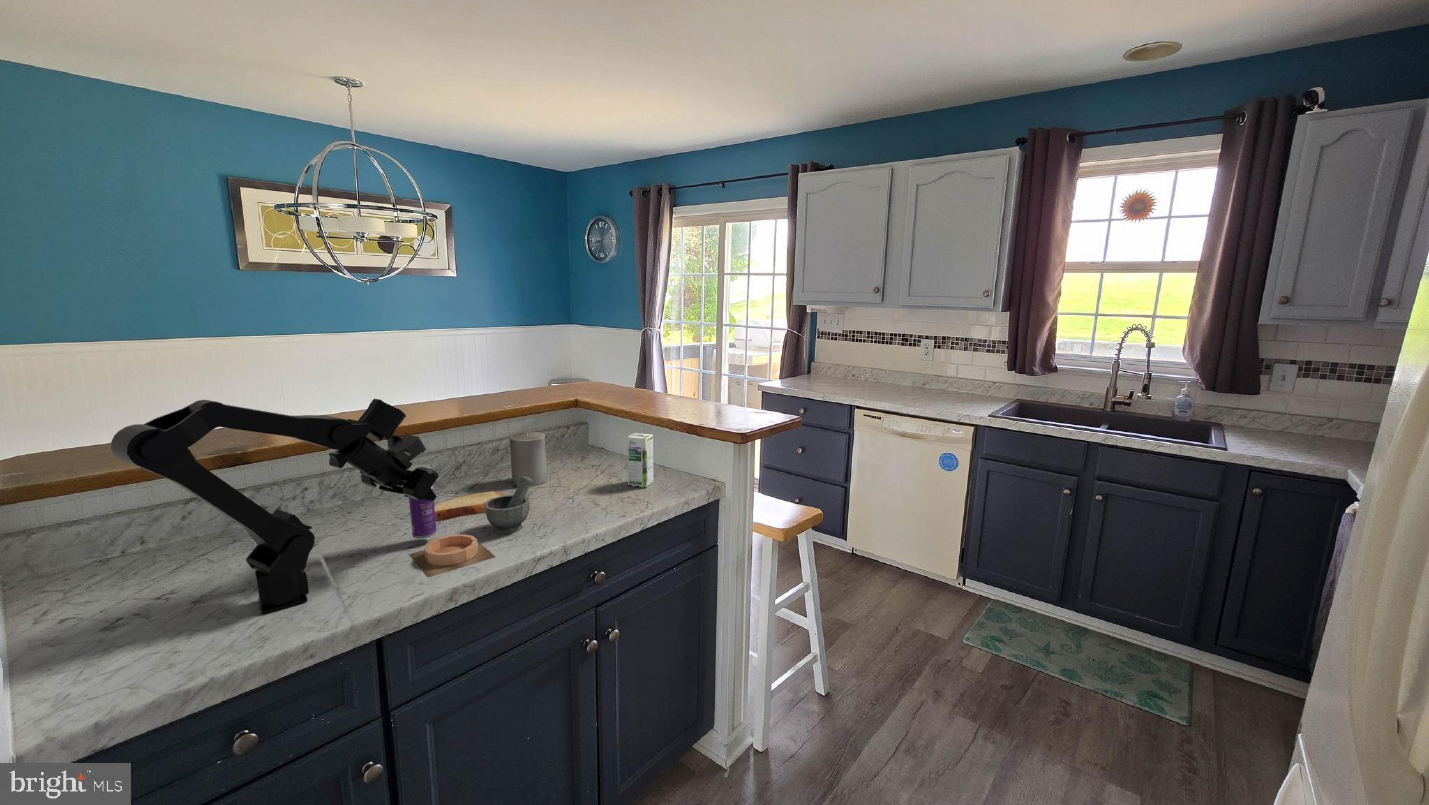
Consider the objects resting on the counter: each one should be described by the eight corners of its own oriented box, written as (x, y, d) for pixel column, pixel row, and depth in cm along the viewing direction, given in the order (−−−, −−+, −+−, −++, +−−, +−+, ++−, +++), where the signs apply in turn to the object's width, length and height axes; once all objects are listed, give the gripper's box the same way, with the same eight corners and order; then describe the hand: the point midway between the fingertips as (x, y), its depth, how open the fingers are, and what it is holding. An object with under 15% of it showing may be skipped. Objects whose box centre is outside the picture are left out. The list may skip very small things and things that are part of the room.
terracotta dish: (434, 571, 111) (433, 559, 111) (420, 554, 118) (419, 543, 118) (484, 556, 118) (483, 545, 117) (467, 541, 125) (467, 530, 124)
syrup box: (627, 486, 162) (626, 436, 160) (636, 480, 168) (635, 431, 165) (646, 488, 161) (645, 438, 158) (654, 481, 166) (653, 433, 164)
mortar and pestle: (496, 543, 125) (492, 490, 123) (479, 530, 132) (475, 480, 130) (543, 529, 133) (541, 479, 131) (525, 517, 139) (522, 470, 137)
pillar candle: (512, 477, 169) (509, 428, 166) (547, 474, 172) (544, 426, 169) (511, 488, 160) (508, 437, 157) (548, 485, 163) (545, 434, 160)
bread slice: (412, 522, 137) (411, 507, 137) (461, 496, 155) (460, 483, 154) (478, 529, 133) (477, 514, 133) (521, 502, 150) (520, 489, 150)
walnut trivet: (428, 579, 109) (427, 577, 109) (409, 556, 119) (409, 554, 118) (495, 559, 118) (495, 556, 117) (473, 539, 127) (473, 537, 127)
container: (426, 539, 122) (420, 471, 119) (407, 537, 122) (401, 470, 120) (441, 530, 126) (435, 465, 123) (422, 528, 127) (416, 463, 124)
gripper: (425, 431, 112) (477, 471, 123) (370, 420, 121) (422, 458, 132) (390, 480, 107) (447, 517, 118) (334, 465, 116) (392, 501, 127)
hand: (427, 496), depth 124 cm, fingers closed on container, 5 cm apart
